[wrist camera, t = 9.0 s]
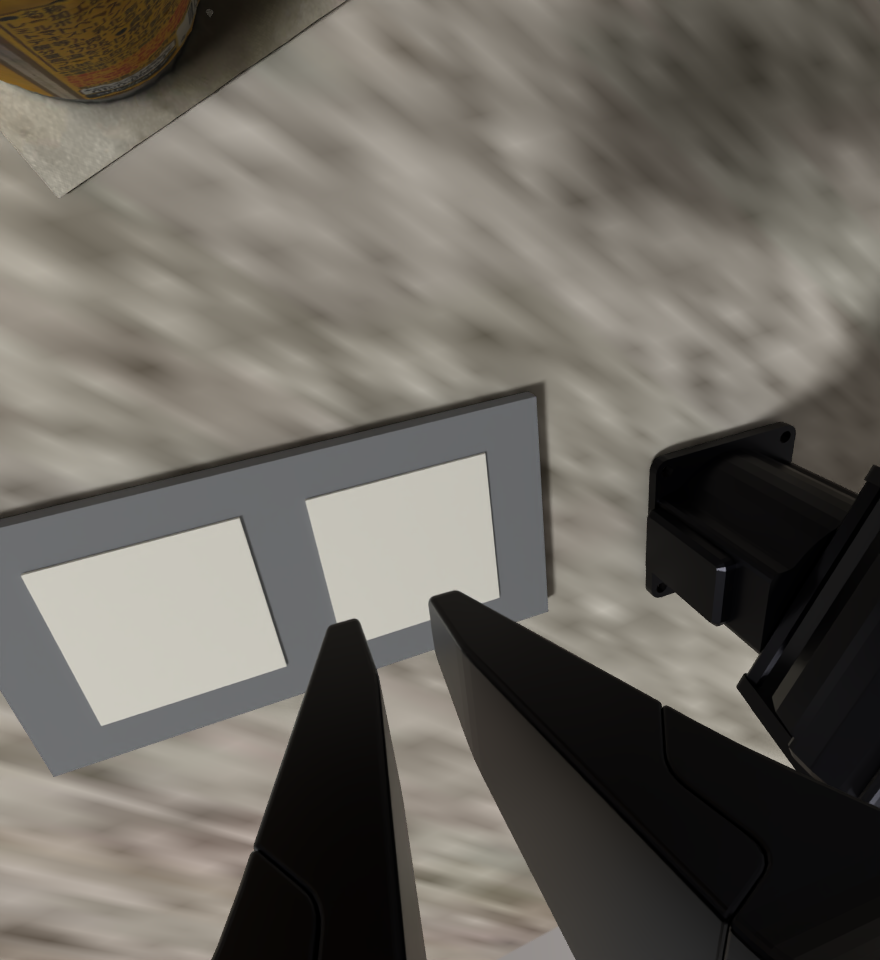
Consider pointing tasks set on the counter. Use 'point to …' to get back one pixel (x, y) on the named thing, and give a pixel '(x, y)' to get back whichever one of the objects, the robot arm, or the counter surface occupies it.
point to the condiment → (123, 70)
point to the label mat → (260, 575)
